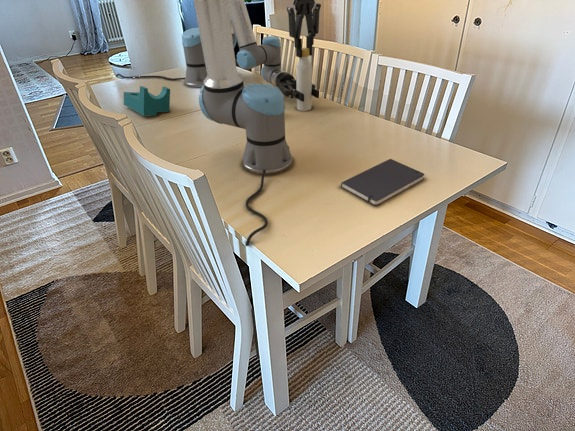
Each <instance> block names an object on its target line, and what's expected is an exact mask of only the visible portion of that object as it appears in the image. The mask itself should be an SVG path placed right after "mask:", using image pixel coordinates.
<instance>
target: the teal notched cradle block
mask: <svg viewBox="0 0 575 431" xmlns="http://www.w3.org/2000/svg"><path fill="white" fill-rule="evenodd" d="M123 105H124V106H126V107H128V109H131V110H133V111H134V112H136V113H138V114H139V115H141V116H143V117H156V116H158V113H170V109H171V108H170V105H171V88H169V87H166V86H162V87H161V91H160V93H159V94H158V95H155V94H153V93H151V92H149V89H148V88H147V87H145V86H141V85H140V86H139V91H123Z"/></svg>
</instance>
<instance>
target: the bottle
mask: <svg viewBox="0 0 575 431" xmlns="http://www.w3.org/2000/svg"><path fill="white" fill-rule="evenodd" d="M295 71H296V72H295V73H296V74H295V76H296V77H295V78H296V79H295V80H296V87H297V91H299V92H301V93H302V94H304V101H303V102H302V101H300V100H299V99H297V98H296V110H298V111H300V112H304V111H305V112H307V111H310V110H311V109H312V100H313V99H312V98H313V96H312V84H313V66H312V64H311V62H310V60H309V56H308V57H302V58H300V59H299V60H298V63H297V64H296V68H295Z"/></svg>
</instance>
